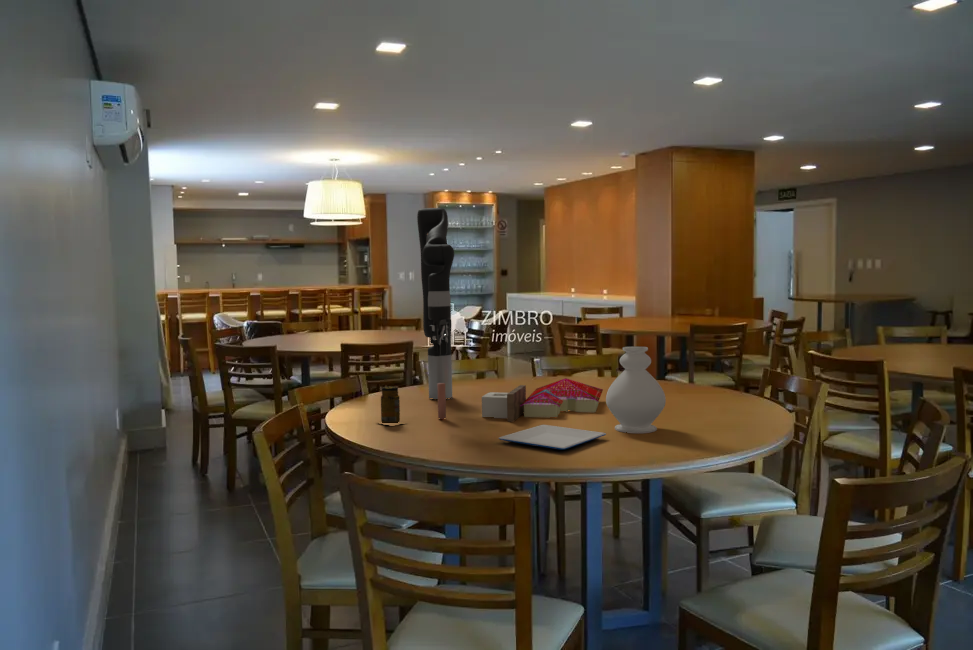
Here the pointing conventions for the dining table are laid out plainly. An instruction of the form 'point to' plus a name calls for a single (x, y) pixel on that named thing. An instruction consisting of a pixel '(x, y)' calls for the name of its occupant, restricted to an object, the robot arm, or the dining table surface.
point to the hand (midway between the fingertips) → (440, 354)
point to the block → (494, 405)
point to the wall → (515, 403)
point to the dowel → (441, 401)
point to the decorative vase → (635, 394)
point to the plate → (552, 437)
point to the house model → (561, 399)
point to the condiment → (390, 405)
